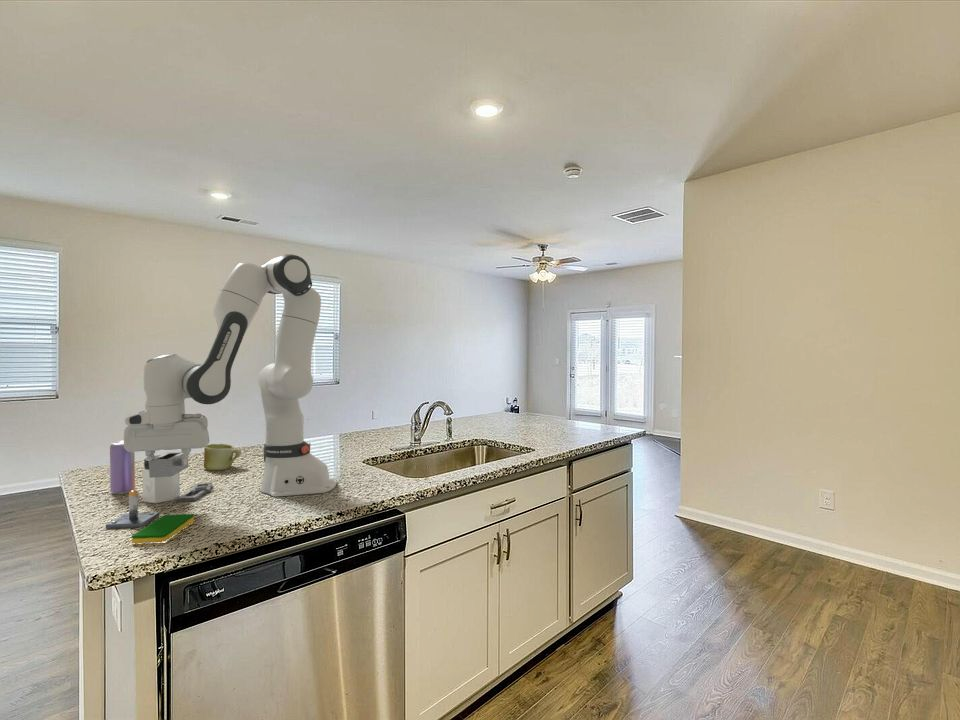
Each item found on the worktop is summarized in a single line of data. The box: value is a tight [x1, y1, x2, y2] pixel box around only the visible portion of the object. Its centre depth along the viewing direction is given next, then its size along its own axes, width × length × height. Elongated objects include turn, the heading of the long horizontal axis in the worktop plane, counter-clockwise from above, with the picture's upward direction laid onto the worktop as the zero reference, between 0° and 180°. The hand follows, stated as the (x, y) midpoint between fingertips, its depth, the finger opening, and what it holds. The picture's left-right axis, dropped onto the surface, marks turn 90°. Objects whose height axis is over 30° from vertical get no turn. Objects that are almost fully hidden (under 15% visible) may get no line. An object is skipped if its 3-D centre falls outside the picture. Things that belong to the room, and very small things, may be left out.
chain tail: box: [176, 482, 213, 502], centre depth 145 cm, size 7×16×2 cm, turn 7°
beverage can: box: [109, 440, 136, 495], centre depth 146 cm, size 6×6×15 cm
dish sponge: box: [131, 513, 195, 544], centre depth 115 cm, size 7×14×2 cm, turn 6°
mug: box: [203, 443, 242, 471], centre depth 174 cm, size 12×10×10 cm
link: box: [149, 451, 189, 478], centre depth 131 cm, size 5×9×4 cm, turn 7°
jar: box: [142, 454, 181, 504], centre depth 139 cm, size 9×8×12 cm
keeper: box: [105, 490, 160, 529], centre depth 121 cm, size 8×8×8 cm
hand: (169, 465), depth 131 cm, fingers closed on link, 5 cm apart
